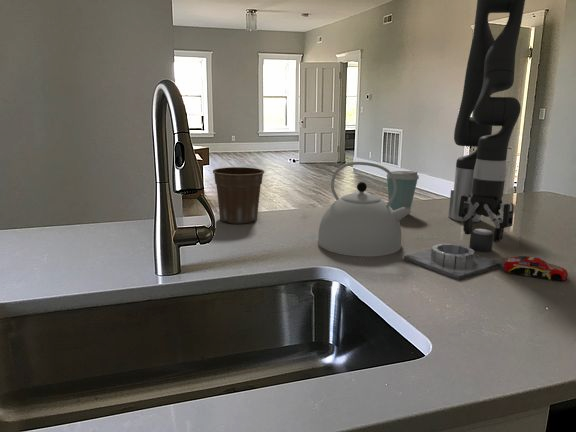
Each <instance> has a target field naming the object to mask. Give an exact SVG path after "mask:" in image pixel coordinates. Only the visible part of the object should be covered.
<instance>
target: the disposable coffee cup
mask: <svg viewBox="0 0 576 432" xmlns="http://www.w3.org/2000/svg"><path fill="white" fill-rule="evenodd" d="M390 172H391V173H392V174H393V175H394V177H395V180H396V184H397V191H396V195H395V197H394V199H393V201H392V203H391V204H390V207H391V208H392V209H393V211H394V210H397V209H399V208H402V207H407V208H409V209H410V210H411V209H412V205H413V200H414V197H415V191H416V188H417V183H418V179H419V177H420V176H419V175H418V171H416V170H415V171H414V170H396V171H395V170H393V171H392V170H391V171H390ZM386 182H387V184H386V185H387V198H388V201H389V200H390V198H391V196H392V194H393V190H394V184H393V180H392V178H391V176H390V175H389V174H388V173H387V174H386Z"/></svg>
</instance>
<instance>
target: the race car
mask: <svg viewBox="0 0 576 432" xmlns="http://www.w3.org/2000/svg"><path fill="white" fill-rule="evenodd" d="M502 267H503V270H504V272H506V273H509V274H513V275H514V276H524V277H525V276H526V277H530V278H539V279H542V280H543V279H544V280H551V281H553V282H560V281H565V280H567V279H568V278H569V273H568V271H567V269H565V268H564V267H562V266H560V265H557V264H552V263H549V262H547V261H545V260H543V259H542V258H540V257H535V256H530V255H529V256H528V255H526V256H525V255H522V256H520V255H519V256H518V255H517V256H513V257H509V256H508V257H506V259H505V261H504V262H503V266H502Z"/></svg>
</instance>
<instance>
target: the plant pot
mask: <svg viewBox="0 0 576 432" xmlns="http://www.w3.org/2000/svg"><path fill="white" fill-rule="evenodd" d="M212 173H213V175H214V176H213V177H214V183H215V185H216V194H217V202H218V213H219V220H220V221H221V222H224V223H226V222H227V223H228V224H233V225H234V224H237V225H242V224H243V225H244V224H250V223H252V222H256V221H257V220H258V216H259V215H258V213H259V204H260V194H261V185H262V183H263V175H264V174H265V170H264V169H262V168H255V167H243V166H237V167H235V166H231V167H230V166H229V167H219V168H215V169H213V170H212Z"/></svg>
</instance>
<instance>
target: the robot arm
mask: <svg viewBox="0 0 576 432" xmlns="http://www.w3.org/2000/svg"><path fill="white" fill-rule="evenodd" d="M525 5H526V0H477V1H476V9H475V19H474V25H473V26H474V27H473V33H472V34H473V35H472V38H471V39H472V40H471V45H470V49H469V54H468V59H467V64H466V69H465V76H464V84H463V92H462V95H461V96H462V97H461V101H460V106H459V109H458V110H459V111H458V114H457V118H456V123H455V127H454V131H453V132H454V133H453V141H454V144H456V145H457V146H460V147H474V148H475V147H476V149H475V150H474V151H473V152H472V153H469V154H467V155H464V156H459V157H458V158H457V159H456V163H455V175H454V183H453V188H452V189H451V190H450V198H449V207H448V218H450V219H452V220H454V221H458V222H462V223H463V232H464V234H465V235H468V236H469V235H471V231H472V230H473V226H474V223H477V222H480V221H481V219H482V218H481V217H482V216H483V217H486V218H489V219H490V220H491V221H492V222H493V224H494V227H495V228H494V231H493V233H494V236H493V243H500V242H501V241H503V239H504V238H503V237H504V230H505V228H509V227H512V226H513V222H514V208H515V205H514V203H513V202H509V203H506V202H503V199H502V198H503V196H504V188H505V181H506V173H507V158H508V157H507V156H508V148H509V143H510V139H511V136H512V133H513V130H514V128H515V126H516V124H517V122H518V119H519V117H520V113H521V111H522V110H521V103H520V102H519V99H517V98H516V97H512V96H504V97H503V96H492V95H493V94H495V93H499V92H504V91H507V90H510V89H511V88H512V87H513V85H514V81H515V68H516V67H515V66H516V53H517V46H518V41H519V36H520V30H521V27H522V21H523V17H524V16H523V15H524V8H525ZM504 13H505V14H507V13H508V19H507V21H506V24H505V26H504V28H503V29H502V31H500V34H499V35H498V36H497V37H496V39H495V38H494V36H493V34H492V31H491V28H490V24H489V15H490V14H504ZM472 114H473V115H472ZM493 127H501V128H500V129H499V131H498V132H496V133H493ZM492 133H493V134H492ZM502 212H503V213H502Z"/></svg>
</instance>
